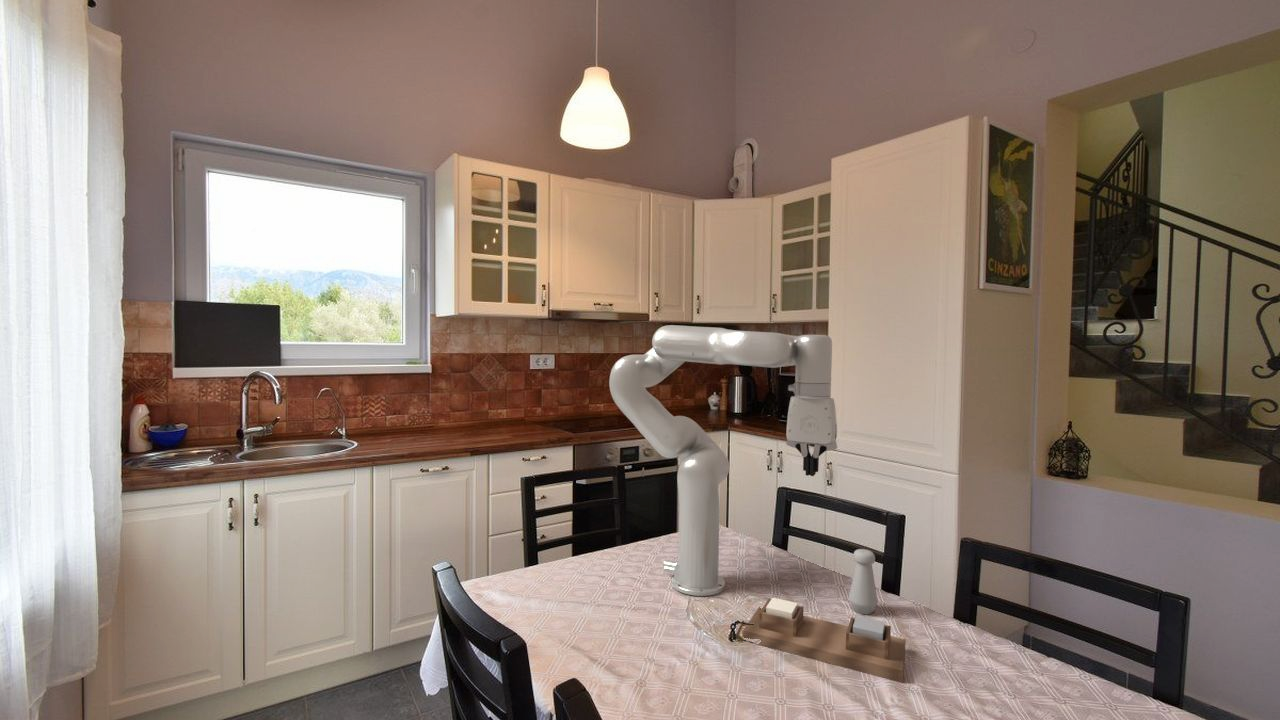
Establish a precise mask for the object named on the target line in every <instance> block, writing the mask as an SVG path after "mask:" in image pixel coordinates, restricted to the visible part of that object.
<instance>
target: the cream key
mask: <svg viewBox="0 0 1280 720" xmlns="http://www.w3.org/2000/svg"><path fill="white" fill-rule="evenodd" d="M770 599H771V601H770V602H769V604H768V605H767V607H766V613H768V614H773V615H777V616H781V617H785V618H790V619H794V618H795V616H796V615H797V605H799V604H798V602H793V601H791V600H785V599H781V598H776V597H772V598H770Z"/></svg>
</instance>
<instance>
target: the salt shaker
mask: <svg viewBox="0 0 1280 720" xmlns="http://www.w3.org/2000/svg"><path fill="white" fill-rule="evenodd" d="M853 560H854V562H856V564H855V568H854V574H853V576H852V581H851V585H850V590H849V595H848V600H849V603H850V605H851V608H852V611H854V612H855V613H858V614H860V615H868V616H869V615H870V614H872V612H873V613H874V611H875V610H876V607H877V605H878V601H879V600H878V594H877V589H876V588H877V587H876V584H875V583H876V582H875V578H874V577H875V575H874V571H873V570H874V569H873V564H874V563H875V561H876V555H875V554H874V553H873V551H871V550H869V549H865V548H859V549H856V550H854V552H853Z"/></svg>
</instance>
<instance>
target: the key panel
mask: <svg viewBox="0 0 1280 720" xmlns="http://www.w3.org/2000/svg"><path fill="white" fill-rule="evenodd" d="M771 599H772V598H768V599H767V601H766V603H765V604H764V605H763V608H762V609H761V608H760V607H759V606H758V608H757V609H756V611H755V612H754V613H753V614H752V617H751V618H750V619H749V620H748V622H747V624H748V623H754V625H747V624H746V625H745V627H743V629H742V638H743V637H744V638H748V639H749V638H750V639H760V640H761V642H760V643H759V645H758V646H762V647H766V648H770V649H773V650H777V651H782V652H785V653H789V654H793V655H796V656H800V657H804V658H807V659H811V660H816V661H820V662H823V663H827V664H831V665H833V666H838V667H843V668H846V669H850V670H853V671H856V672H857V671H858V672H862V673H864V674H870V675H872V676H877V677H879V678H880V677H881V678H884V679H888V680H892V681H895V682H899V683H903V677H904V670H905V669H904V668H905V660H906V659H905V656H906V648H907V647H906V645H907V644H906V642H907V639H905V638H901V637H897V636H893V635H891V632H892V631H891V629H892V626H891V625H887V624H885V631H884V640H879V639H875V638H870V637H866V636H862V635H858V634H853V625H854V621H855V618H856V617H850V620H849V622H848V625H845V624H840V623H836V622H832V621H829V620H828V621H827V620H823V619H819V618H815V617H810V616H806V615H804V609H805V608H804V607H805V606H802V605H799V604H798V605H797V615H796V616H795V618H794V619H790V618H785V617H781V616H777V615H773V614H768V613H766V607H767V605H768V604H769V602H770V601H771Z"/></svg>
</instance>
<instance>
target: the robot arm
mask: <svg viewBox="0 0 1280 720" xmlns="http://www.w3.org/2000/svg"><path fill="white" fill-rule="evenodd" d="M651 340H652V341H651V345H652V348H650V349H649V350H647V351H646V353H644V354H629V355H625V356H622V357H621V358H619V359H618V360H617V361H616V362H615V363H614V365H613V366H612V368H611V370H610V375H609V381H608V383H609V385H608V386H609V391H610V395H611V397H612V400H613V402H614V403H615V405H616V406H617V407H618V409H619V410H620V412H622V414H623V415H624V416H625V417H626V418H627V419H628V420H629V421H630V422H631V423H632V424H633V426H634V427H635V428H636V429H637V431H639V433H640V434H641V435H642V436H643V437H644V438H645V440H646V441H647V442H648V443H649V444H650V445H651V447H652V448H653V449H654V450H655V451H656V453H658V454H659V455H661V457H663V458H667V459H674V458H677V457H679V458H680V459H681V461H682V462H681V463H680V466H679V467H678V471H677V474H676V475H677V477H676V478H677V479H676V481H677V489H678V502H679V503H678V506H679V509H678V515H679V516H678V557H677V558H678V561H676V562H675V561H672V560H668V559H664V561H663V571H664V572H666V573H670V574H671V573H672V574H673V575H672V577H671V585H672V588H673V589H675V590H676V591H677V592H680V593H682V594H685V595H689V596H695V597H697V596H698V597H707V596H714V595H717V594H719V593H722V591H724V590H725V586H726V583H725V579H724V578H722V577H721V576H720V575H719V559H720V557H719V555H720V553H719V551H720V550H719V549H720V513H721V512H720V511H721V510H720V497H719V485H720V484H722V482H724V480H725V479H726V478H727V476H728V474H729V472H730V463H729V459H728V457H727V455H726V454H725V452H724V451H723V450H722V448H721V447H720V446H719V445H718V444H717V443H716V442H715V441H714V439H712V438H711V437H710V435H709V434H708V433H706V431H705V430H704V429H703V428H702V427H701V426H700V425H699V424H698V423H697V422H696V421H694V420H693V419H692V418H690V417H687V416H684V415H675V416H674V415H673V414H672V413H670V411H668V410H667V408H665V406H664V405H663V404H662V403H661V402H660V400H659V399H658V398H656V397H655V396H653V394H651V393H650V392H649V391H648V390H647V388H652V387H654V386H657V385H658V384H659V383H661V382H662V381H663V380H664V379H666V378H667V377H668V376H670V374H672V373H673V372H674V371H675V370H677V369H678V368H680V367H681V366H682V365H683V364H684V363H685V362H687V363H688V362H689V363H701V364H712V365H738V366H748V367H749V366H750V367H761V368H773V369H774V368H782V367H790V366H791V367H792V366H793V367H794V366H795V374H794V376H795V378H794V381H795V382H794V383H793V384H788V387H787V390H788V391H789V392H793V394H794V395H792V396H790V400H789V405H788V410H787V411H788V412H787V419H786V421H787V422H786V432H785V433H786V434H785V435H786V441H785V444H786V446H788V447H792V448H794V449H796V450H797V451H798V452H799V453H800V454H801V456H802V457H803V458H802V459H803V460H802V461H803V463H802V464H803V465H802V471H804V472H805V476H807V477H808V476H810V477H814V476H815V475H816V473H819V460H820V459H819V458H820V456H821V455H822V454H824V452H830V451H835V450H836V451H837V449H838V443H837V437H838V434H837V433H838V429H837V425H838V423H837V412H836V411H837V410H836V403H835V399H834V398H833V397H831V395H832V394H831V393H832V365H833V363H832V359H833V341H832V338H831V337H830V336H829V335H826V334H802V335H790V334H785V333H780V332H772V331H771V332H770V331H768V332H766V331H749V330H734V329H727V328H724V327H714V326H713V327H711V326H691V325H674V324H670V325H664V326H661V327H659V328H658V329H657V330H656V331H655V332H654V334H653V336H652V339H651ZM810 445H814V446H813V447H814V448H813V452H812V454H811V451H810Z"/></svg>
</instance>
